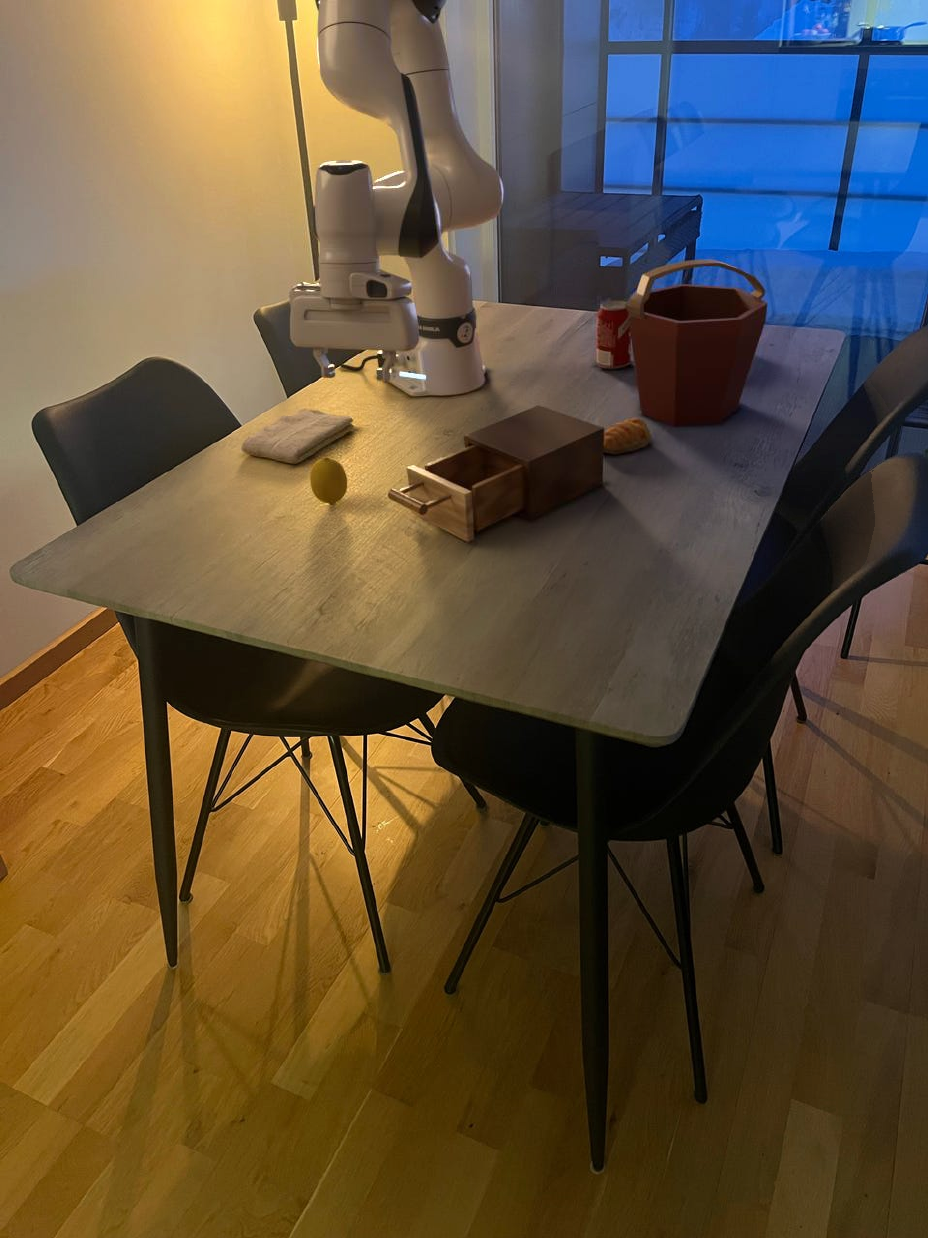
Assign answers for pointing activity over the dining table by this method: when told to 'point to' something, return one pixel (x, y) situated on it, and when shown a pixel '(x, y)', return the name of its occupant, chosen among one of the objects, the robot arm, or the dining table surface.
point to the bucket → (693, 344)
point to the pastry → (626, 436)
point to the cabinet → (547, 455)
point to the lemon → (328, 480)
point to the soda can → (613, 335)
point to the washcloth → (297, 435)
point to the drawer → (464, 491)
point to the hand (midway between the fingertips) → (356, 379)
